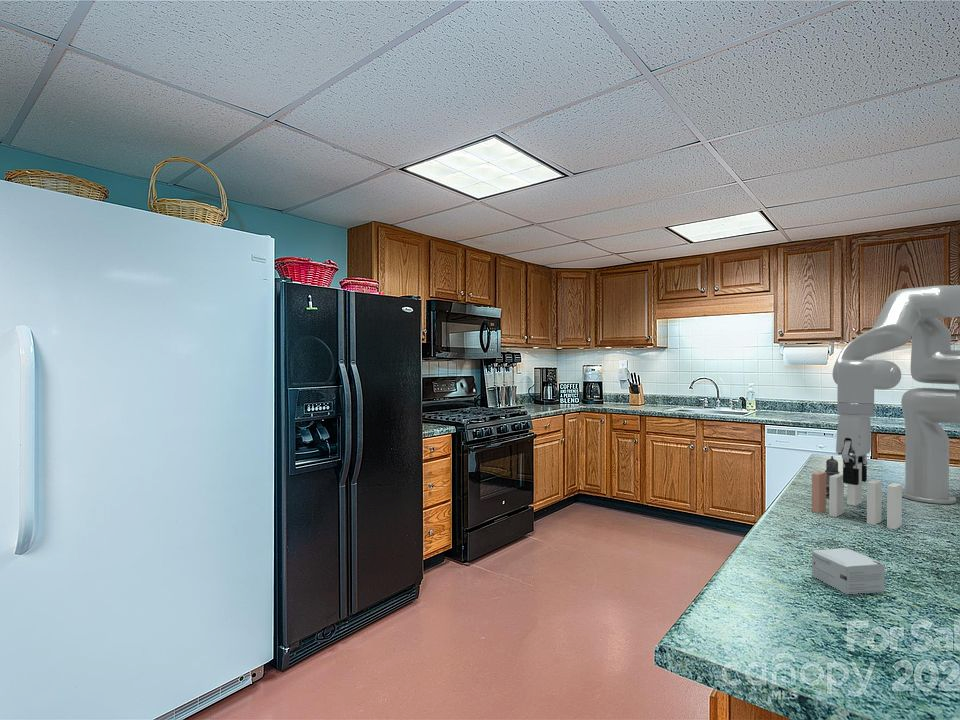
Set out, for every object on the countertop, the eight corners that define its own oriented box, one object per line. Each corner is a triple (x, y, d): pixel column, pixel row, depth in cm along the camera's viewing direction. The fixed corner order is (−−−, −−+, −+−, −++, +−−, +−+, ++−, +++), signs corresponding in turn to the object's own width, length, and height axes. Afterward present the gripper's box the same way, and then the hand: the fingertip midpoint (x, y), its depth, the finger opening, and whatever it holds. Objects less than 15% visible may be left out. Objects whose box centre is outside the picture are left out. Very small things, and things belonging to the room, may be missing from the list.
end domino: (819, 508, 139) (819, 471, 139) (826, 509, 138) (826, 472, 138) (811, 511, 136) (812, 473, 136) (818, 513, 135) (818, 474, 135)
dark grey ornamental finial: (848, 500, 147) (848, 458, 147) (825, 499, 148) (825, 457, 148) (838, 495, 152) (838, 454, 152) (816, 494, 154) (816, 453, 154)
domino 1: (836, 512, 136) (836, 473, 136) (843, 513, 135) (844, 474, 135) (829, 515, 133) (829, 476, 133) (836, 517, 132) (836, 477, 131)
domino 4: (893, 523, 126) (893, 482, 126) (901, 525, 125) (902, 483, 125) (886, 527, 123) (887, 485, 123) (895, 529, 122) (895, 487, 122)
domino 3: (873, 519, 129) (873, 479, 129) (881, 521, 128) (881, 480, 128) (866, 523, 126) (866, 482, 126) (874, 525, 125) (874, 483, 125)
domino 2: (854, 500, 133) (854, 461, 133) (861, 502, 131) (862, 462, 131) (847, 504, 130) (847, 464, 130) (854, 505, 128) (855, 465, 128)
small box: (810, 577, 96) (810, 549, 96) (847, 574, 97) (847, 547, 97) (846, 596, 88) (846, 566, 88) (886, 593, 89) (886, 563, 89)
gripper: (850, 407, 139) (849, 475, 139) (825, 410, 128) (824, 484, 128) (884, 409, 133) (884, 480, 133) (861, 413, 122) (860, 490, 122)
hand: (854, 481), depth 130 cm, fingers closed on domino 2, 4 cm apart
